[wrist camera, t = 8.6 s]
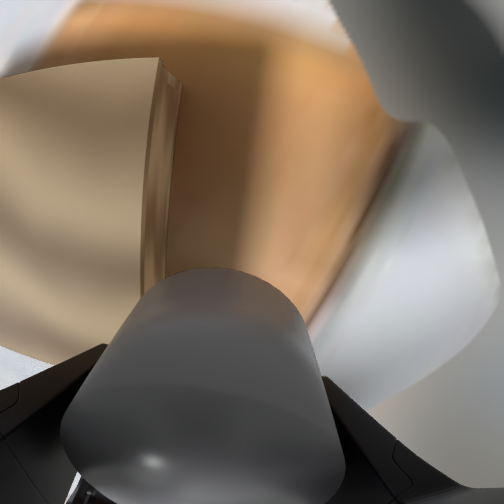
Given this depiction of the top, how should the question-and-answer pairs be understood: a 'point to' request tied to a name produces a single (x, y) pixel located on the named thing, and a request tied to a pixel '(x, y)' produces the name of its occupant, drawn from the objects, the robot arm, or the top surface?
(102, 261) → the lid
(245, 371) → the grey domed cylinder
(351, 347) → the top surface
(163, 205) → the box
